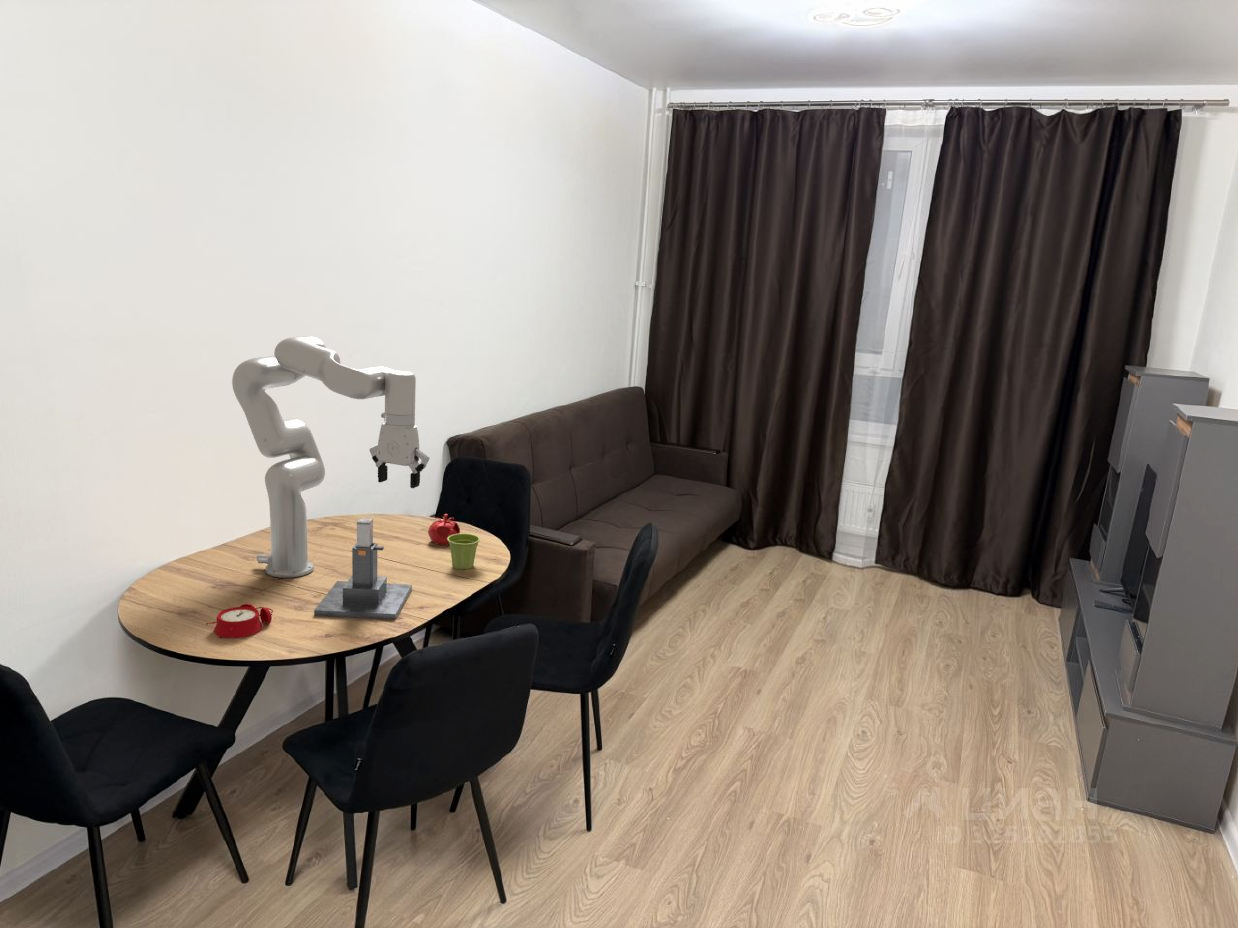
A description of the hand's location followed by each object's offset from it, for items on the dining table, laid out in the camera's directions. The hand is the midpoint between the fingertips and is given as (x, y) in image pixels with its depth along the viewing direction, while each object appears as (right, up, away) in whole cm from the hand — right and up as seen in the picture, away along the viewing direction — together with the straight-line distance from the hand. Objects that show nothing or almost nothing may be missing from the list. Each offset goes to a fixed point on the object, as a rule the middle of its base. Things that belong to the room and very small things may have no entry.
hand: (398, 484), depth 224 cm
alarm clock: (-32, -34, -19) cm, 50 cm away
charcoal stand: (-9, -31, -1) cm, 32 cm away
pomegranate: (+2, -20, +50) cm, 54 cm away
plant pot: (+11, -25, +30) cm, 41 cm away
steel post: (-8, -25, -2) cm, 27 cm away
